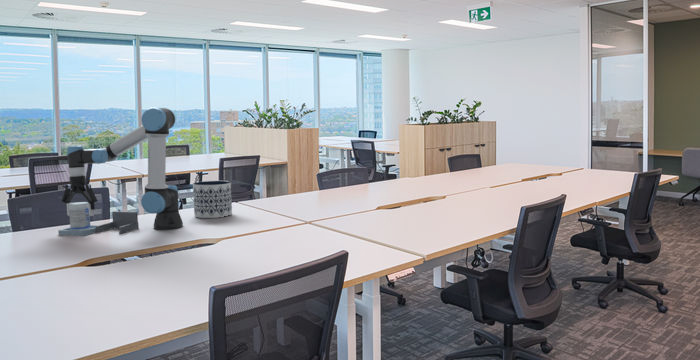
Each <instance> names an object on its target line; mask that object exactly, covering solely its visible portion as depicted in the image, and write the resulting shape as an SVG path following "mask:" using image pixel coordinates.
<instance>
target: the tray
mask: <svg viewBox="0 0 700 360" xmlns="http://www.w3.org/2000/svg"><path fill="white" fill-rule="evenodd" d="M98 225H99V224H97V225H96V224H95V225H94V224H90V226H91V229H87V230H84V231H74V230H71V228H70V226H68V227H65V228H61V229H59V230H57V231H58V235H59V236H69V235H72V236H74V237H85V236H88V234H89V235H92V234H95V233H96V226H98Z"/></svg>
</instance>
